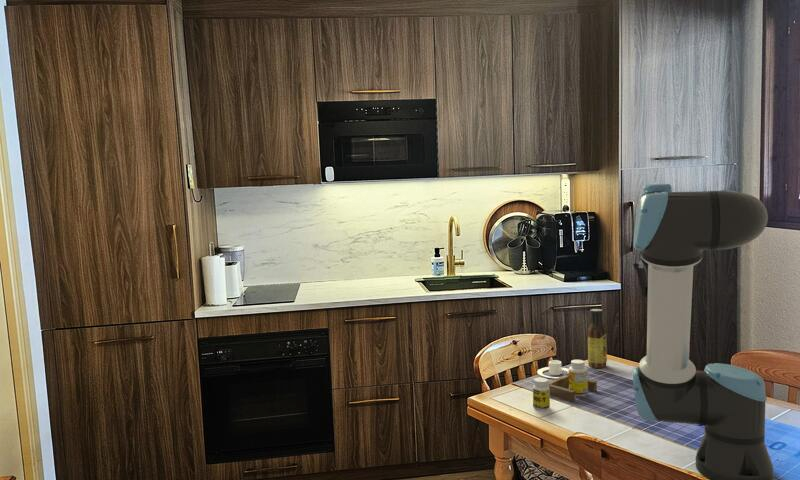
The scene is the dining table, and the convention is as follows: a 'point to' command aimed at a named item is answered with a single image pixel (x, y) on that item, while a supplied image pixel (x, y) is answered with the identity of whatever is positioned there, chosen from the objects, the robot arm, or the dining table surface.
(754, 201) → the robot arm
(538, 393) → the supplement bottle
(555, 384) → the pocket
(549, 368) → the candle holder
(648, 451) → the dining table surface
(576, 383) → the supplement bottle
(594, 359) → the sauce bottle
